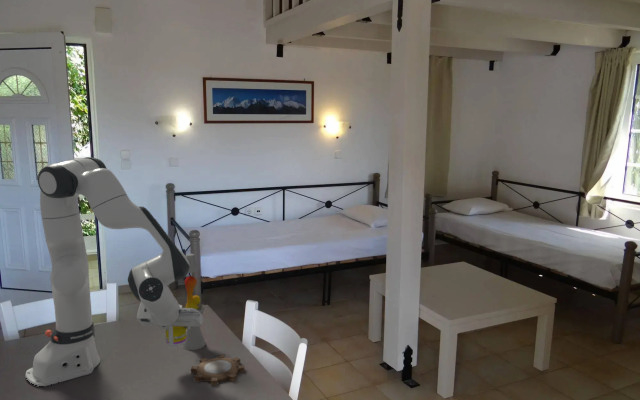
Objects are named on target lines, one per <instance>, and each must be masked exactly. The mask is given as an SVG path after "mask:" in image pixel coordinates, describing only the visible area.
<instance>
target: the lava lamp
mask: <svg viewBox="0 0 640 400" xmlns="http://www.w3.org/2000/svg"><path fill="white" fill-rule="evenodd" d="M185 256H186V257H187V259H188V261H189V266H190V269H189V271H188V273H187V274H193V273H197V272H198V271H199V268H198V264H197V259H196V255H195V254H194V253H188V254H185ZM184 279H185V280H184V286H185V290H186V295H187V296H186V303H184V304H181V305H182V308H193V309H197V310H198V311H199V312H200V313H201V314H202V315H203V313H204V310H205V306H206V305H205V304H204V303H202V302H201V297H200V296H199V295H196V294H195V295H194V294H193V293H194V289H195V287H196V286H197V278H196V277H195V276H192V275H191V276H190V275H188V276H187V277H185V278H184ZM186 338H187V340H186V342H185V343H184V344H183V345H181V347H182V349H183V350H188V351H195V350H199V349H202V348H204V347H205V345H206V341H205V338H204V336H203V333H202V331H201V326H199V327H190V329H186Z"/></svg>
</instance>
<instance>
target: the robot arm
mask: <svg viewBox="0 0 640 400" xmlns="http://www.w3.org/2000/svg"><path fill="white" fill-rule="evenodd" d="M37 184H38V187H39V190H40V195H39V203H40V204H39V205H40V207H39V209H40V215H41V216H40V217H41V221H42V228H43V232H44V233H43V234H44V238H45V242H46V246H47V249H48V252H49V258H50V262H51V263H50V264H51V272H50V285H51V293H52V294H51V295H52V300H53V306H54V317H55V328H54V330H53V331H52V330H51V329H47V330H45V332H44V334H45V336H46V337H48V338H50V340H49V342H48V343H46V345H45V346H44V347H42V349H40V351H38V352H37V353H36V354H35V355H34V358H33V360H32V361H33V362H32V367H30V368H29V369H27V370H26V372H25V379H26V378H27V379H26V381H27V380H28V381H29V382H30V383H29V382H28V381H27V382H28V383H29V384H31V383H32V384H34V385H33V386H35V385H37V386H36V387H39V386H44V387H48V386H52V385H54V384H59V383H62V382H66V381H69V380H73V379H76V378H80V377H84V376H87V375H90V374H92V373H93V372H94V369H95V368H96V367H97V366H98V365H99V364H100V362H101V358H100V356H99V353H98V351H97V347H96V342H95V336H96V335H95V326H94V325H95V323H94V322H93V313H92V302H91V301H92V300H91V288H90V274H89V273H90V271H89V259H88V254H87V253H88V252H87V248H86V244H85V238H84V232H83V227H82V226H83V225H82V221H81V220H82V219H81V215H80V209H79V203H78V198H79V196H80V195H82V196H83V197H84V198H85V199H86V201H87V202H88V204H89V207H90V209H91V211H92V212H93V214H94V216H95V218H96V219H97V221H98V222H99V224H101V226H103V227H105V228H108V229H111V230H126V229H127V230H128V229H143V230H145V231H147V232H149V234H150V235H151V236H152V238H153V239H154V240H155V241H156V243H157V244H158V246H159V247H160V248H161V250H162V252H161V253H160V254H159V255H156V256H154V257H151V259H148V260H146V261H143V262H141V263H139V264H137V265H135V266H134V267H132V268H131V269H130V270H129V273H128V277H127V283H128V286H129V289H130V291H131V292H132V294H133V296H134V297H135V298H136V300H137V301H138V302H140V303H139V307H138V310H137V313H136V320H137V323H139V325H141V326H147V327H148V326H151V327H159V328H161V329H164V330H166V327H165V326H184V328H185V329H190V327H201V326H202V324H203V321H204V316H203V314H201V313H200V312H199V311H198V310H197V309H193V308H180V305H181V304H179V302H178V300H177V299H176V297H175V296H174V294H173V292H172V290H171V289H170V287H169V286H168V285H170V284H172V283H174V282H178V281H180V280H182V279H186V278H187V277H186V276H187V275H188V274H189V273H188V271H189V269H190V266H189V261H188V259H187V257H186V254H185V253H184V252H183V251H182V250H180V248H178V246H177V245H175V244H174V242H173V240H172V239H171V237H170V236H169V235H168V234H167V232H166V231H165V229H164V228H163V227H162V226H161V224H160V223H159V222H158V219H156V218H155V217H154V216H153V215H152V213H151V212H150V211H149V210H148V209H147V208H146V207H144V206H139V205H137V204H135V203H134V202H133V201H132V200H131V199H130V197H129V196H128V194H127V191H125V188H124V187H123V185H122V184H121V182H120V181H119V179H118V178H117V176H116V175H115V174H114V173H113V171H111V169H108V167H107V166H106V165H105V163H104V161H102V160H101V159H99V158H96V157H92V156H91V157H90V156H89V157H87V156H85V157H82V158H81V157H80V158H70V159H68V160H64V161H61V162H57V163H51V164H48V165H46V166H44V167H42V168H41V169H40V170H39V172H38V175H37ZM58 382H59V383H58ZM32 384H31V385H32ZM51 384H52V385H51Z"/></svg>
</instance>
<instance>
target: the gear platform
mask: <svg viewBox="0 0 640 400" xmlns="http://www.w3.org/2000/svg"><path fill="white" fill-rule="evenodd" d="M240 364H241V358H239V357H238V356H236V357H234V358H230V357H225V354H218V357H212V358H209V359H208V358H206V357H203V358H201V359H200V360H199V364H198V365H195V366H193V365H192V366H191V368H190V374H195V375H193V381H195V382H197V383H199V382H202V381H204V382H207V383H210V386H218V384H219V383H220V382H226V381H230V382H231V383H233V382H235V381H237V379H238V374H239V373H245V370H244V369H246V368H245V364H244V365H242V364H241V365H240Z"/></svg>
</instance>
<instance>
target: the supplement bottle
mask: <svg viewBox="0 0 640 400" xmlns="http://www.w3.org/2000/svg"><path fill="white" fill-rule="evenodd" d="M179 305H180V308H182V305H183V304H179ZM165 327H166V329H165V338H166V339H165V340H166V342H165V343H166V344H167V346H170V347H179V346H182V345H183V344H184V343H185V342H186V340H187V338H186V329H185V328H184V326H165Z"/></svg>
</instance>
